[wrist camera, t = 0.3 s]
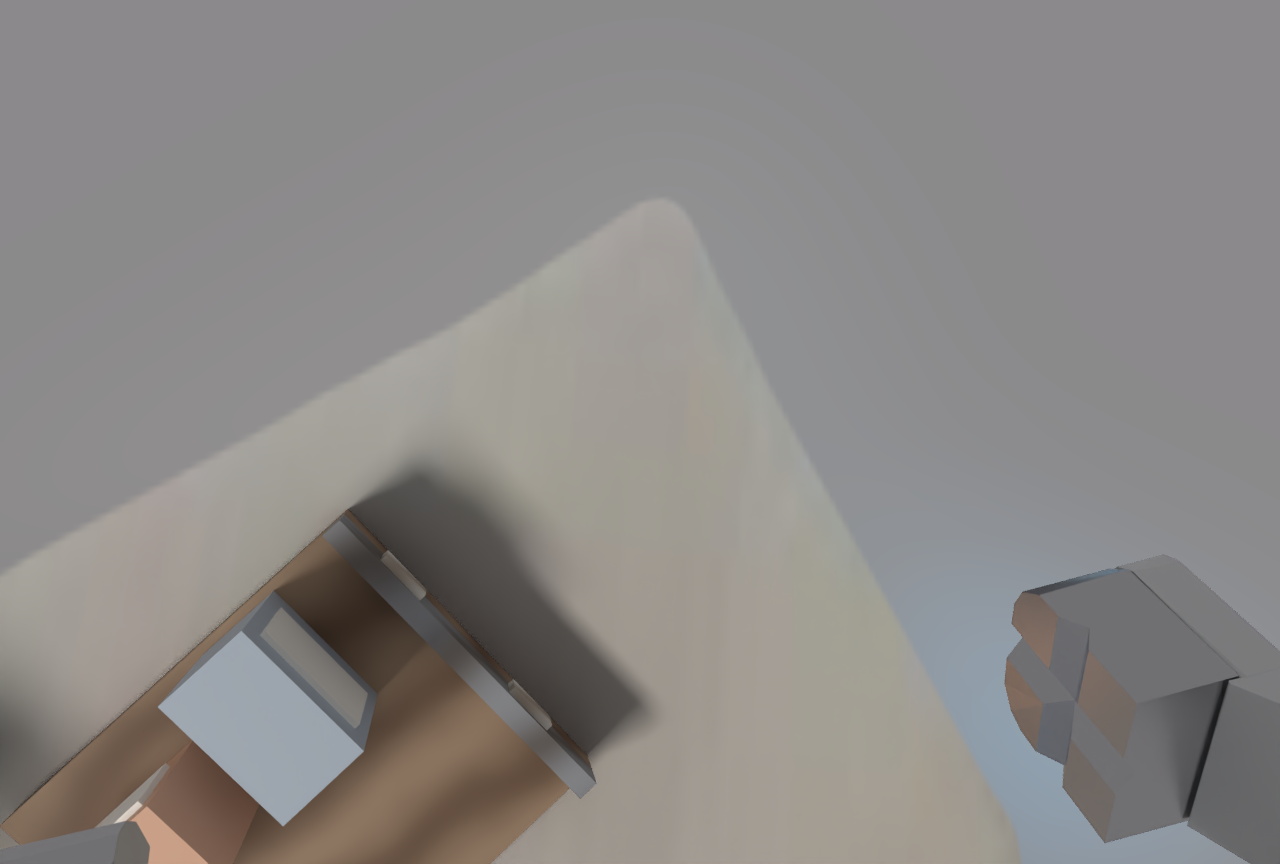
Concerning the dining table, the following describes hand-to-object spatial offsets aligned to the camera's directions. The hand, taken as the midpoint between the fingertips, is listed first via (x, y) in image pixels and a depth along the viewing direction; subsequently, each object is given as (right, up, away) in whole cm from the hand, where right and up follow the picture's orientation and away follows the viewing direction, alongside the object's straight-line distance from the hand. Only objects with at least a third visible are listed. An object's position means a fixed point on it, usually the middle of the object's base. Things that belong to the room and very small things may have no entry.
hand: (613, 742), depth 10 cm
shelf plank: (-18, -17, +52) cm, 58 cm away
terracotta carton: (-25, -18, +49) cm, 58 cm away
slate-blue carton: (-18, -10, +49) cm, 54 cm away
